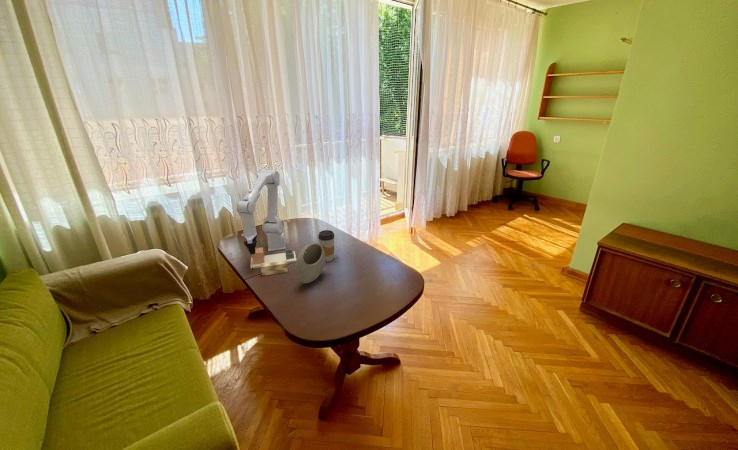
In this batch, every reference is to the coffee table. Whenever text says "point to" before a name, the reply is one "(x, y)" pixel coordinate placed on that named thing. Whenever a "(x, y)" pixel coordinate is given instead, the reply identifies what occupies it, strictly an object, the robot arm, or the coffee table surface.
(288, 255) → the cap board
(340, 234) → the coffee table surface
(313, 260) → the planter
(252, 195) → the robot arm
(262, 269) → the slat
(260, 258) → the sliding end cap
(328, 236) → the coffee cup
